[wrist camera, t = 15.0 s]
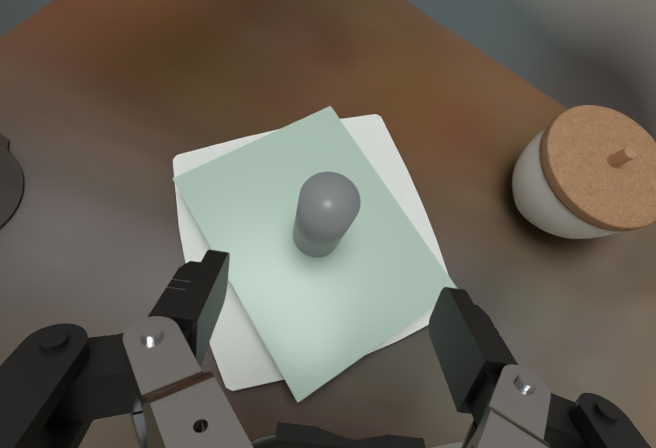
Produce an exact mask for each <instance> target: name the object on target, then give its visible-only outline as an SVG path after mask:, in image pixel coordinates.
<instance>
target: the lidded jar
mask: <svg viewBox="0 0 656 448" xmlns="http://www.w3.org/2000/svg"><path fill="white" fill-rule="evenodd" d="M512 190H513V198H514V202H515V205H516V207H517V209H518V210H519V212H520V213H521V215H522V216H523V217H524V218H525V219H526V220H527V221H529V222H530V223H532V224H534V225H535V226H537V227H538V228H539V229H541V230H543V231H545V232H547V233H550V234H553V235H556V236H559V237H564V238H571V239H589V238H597V237H603V236H609V235H612V234H616V233H619V232H623V231H631V230H635V229H638V228H641V227H644V226H647V225H650V224H651V223H653V222H655V221H656V142H655V141H654V140H653V139H652V137H651V136H650V135H649V134H648V133H647V132H646V131H645V130H644V129H643V128H642V127H641V126H640V125H638V124H637V123H636V122H634V121H633V120H631V119H630V118H629V117H627V116H625V115H623V114H621V113H620V112H617V111H615V110H612V109H610V108H606V107H601V106H594V105H587V106H578V107H573V108H571V109H568V110H566V111H565V112H563V113H562V114H560V115H559V116H557V117H556V118H555V119H554V120H553V121H552V122H551V123H550V124H549V125H548V126H547V127H546V128H545V129H543V130H542V131H541V132H540V133H539V134H538V135H537V136H536V137H535V138H534V139H533V140H532V141H531V142H530V143H529V144H528V145H527V146H526V147H525V149H524V150H523V151H522V153H521V155H520V156H519V158H518V160H517V162H516V164H515V167H514V170H513V176H512Z"/></svg>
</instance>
